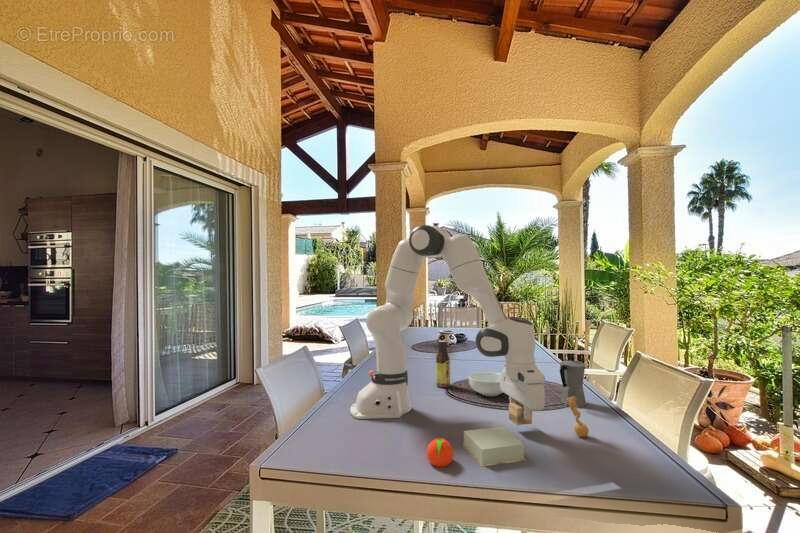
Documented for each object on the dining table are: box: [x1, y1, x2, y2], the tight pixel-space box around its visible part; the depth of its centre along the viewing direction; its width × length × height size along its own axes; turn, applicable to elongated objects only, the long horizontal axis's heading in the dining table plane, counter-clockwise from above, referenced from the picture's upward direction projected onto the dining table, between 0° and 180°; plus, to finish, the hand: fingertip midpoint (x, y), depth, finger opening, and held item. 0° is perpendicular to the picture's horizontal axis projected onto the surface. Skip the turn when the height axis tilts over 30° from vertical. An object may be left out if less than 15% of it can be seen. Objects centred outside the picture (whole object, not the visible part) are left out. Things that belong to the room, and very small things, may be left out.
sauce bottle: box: [435, 340, 451, 389], centre depth 172 cm, size 7×6×20 cm
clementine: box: [426, 437, 454, 468], centre depth 101 cm, size 8×7×7 cm
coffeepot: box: [559, 355, 587, 408], centre depth 147 cm, size 15×9×18 cm, turn 129°
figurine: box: [567, 396, 590, 438], centre depth 119 cm, size 8×6×12 cm
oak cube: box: [508, 401, 533, 426], centre depth 120 cm, size 5×5×5 cm
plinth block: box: [463, 426, 525, 465], centre depth 106 cm, size 12×12×4 cm
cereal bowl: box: [468, 371, 505, 397], centre depth 161 cm, size 17×17×7 cm
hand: (520, 414), depth 120 cm, fingers closed on oak cube, 5 cm apart
